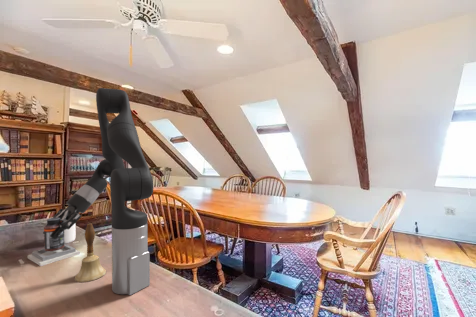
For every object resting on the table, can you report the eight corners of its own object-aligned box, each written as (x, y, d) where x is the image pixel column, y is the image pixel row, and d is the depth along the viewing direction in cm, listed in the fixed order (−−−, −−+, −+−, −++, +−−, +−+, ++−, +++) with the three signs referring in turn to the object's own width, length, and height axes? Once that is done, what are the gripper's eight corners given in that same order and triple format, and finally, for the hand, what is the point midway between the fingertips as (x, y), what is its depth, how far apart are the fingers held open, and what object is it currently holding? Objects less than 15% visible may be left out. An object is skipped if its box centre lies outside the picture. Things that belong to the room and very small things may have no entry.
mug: (45, 240, 105) (45, 217, 105) (66, 235, 112) (66, 213, 112) (57, 246, 99) (56, 221, 99) (79, 240, 106) (79, 216, 106)
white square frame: (79, 254, 90) (79, 248, 90) (40, 266, 80) (40, 259, 80) (65, 247, 97) (65, 242, 97) (27, 258, 87) (27, 252, 87)
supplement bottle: (47, 247, 90) (46, 217, 90) (66, 245, 93) (65, 215, 93) (42, 253, 85) (41, 221, 85) (62, 250, 87) (61, 219, 87)
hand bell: (69, 283, 69) (68, 228, 69) (81, 270, 77) (81, 221, 77) (100, 280, 71) (100, 226, 71) (109, 268, 79) (109, 219, 79)
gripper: (68, 191, 99) (32, 227, 89) (85, 194, 91) (47, 234, 81) (82, 202, 103) (49, 237, 93) (99, 205, 95) (65, 245, 86)
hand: (48, 236), depth 87 cm, fingers closed on supplement bottle, 6 cm apart
